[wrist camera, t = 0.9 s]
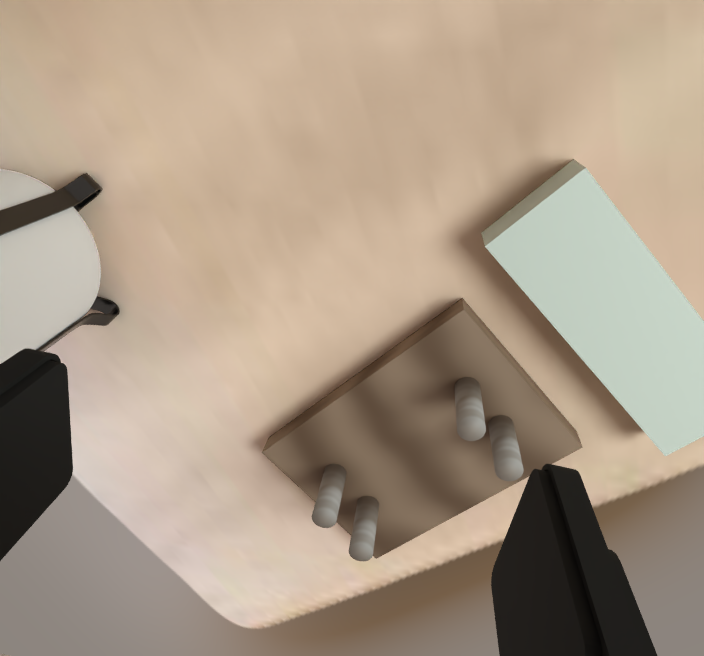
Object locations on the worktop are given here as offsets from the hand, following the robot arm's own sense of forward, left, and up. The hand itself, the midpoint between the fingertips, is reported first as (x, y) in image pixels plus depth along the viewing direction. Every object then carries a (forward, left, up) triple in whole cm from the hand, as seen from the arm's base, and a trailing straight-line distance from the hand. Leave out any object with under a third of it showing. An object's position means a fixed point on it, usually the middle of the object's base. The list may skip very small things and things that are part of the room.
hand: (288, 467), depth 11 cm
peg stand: (+11, +16, -28) cm, 34 cm away
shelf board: (-6, +16, -29) cm, 33 cm away
